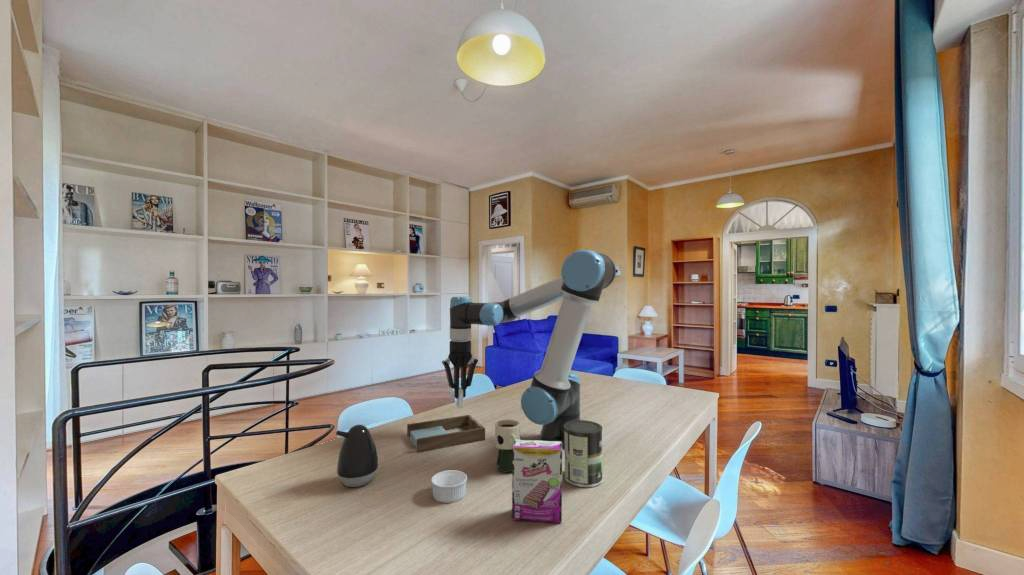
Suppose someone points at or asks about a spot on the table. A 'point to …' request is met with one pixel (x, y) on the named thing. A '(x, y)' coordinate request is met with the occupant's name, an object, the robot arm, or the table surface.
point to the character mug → (506, 442)
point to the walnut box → (451, 438)
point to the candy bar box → (537, 481)
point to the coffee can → (583, 453)
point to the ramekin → (449, 486)
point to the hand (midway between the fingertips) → (459, 406)
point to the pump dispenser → (357, 457)
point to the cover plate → (426, 433)
